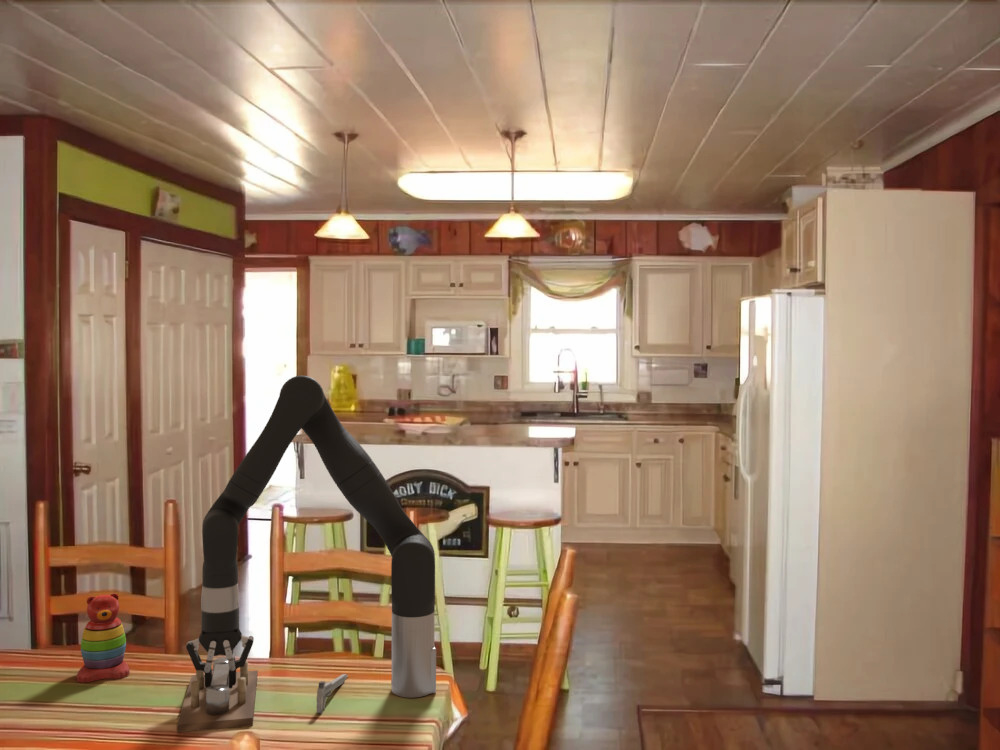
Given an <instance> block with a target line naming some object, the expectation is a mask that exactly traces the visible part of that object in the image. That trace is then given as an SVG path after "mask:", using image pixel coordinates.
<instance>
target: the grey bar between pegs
mask: <svg viewBox="0 0 1000 750" xmlns="http://www.w3.org/2000/svg"><path fill="white" fill-rule="evenodd" d="M212 669H213V677H212V682H211V686H210V687H208V688H207V689H206V714H208V715H212V716H216V715H222V714H225V713H227V712H228V711H229V664H228V661H227V657H218V658H216V659H213V661H212Z"/></svg>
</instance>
